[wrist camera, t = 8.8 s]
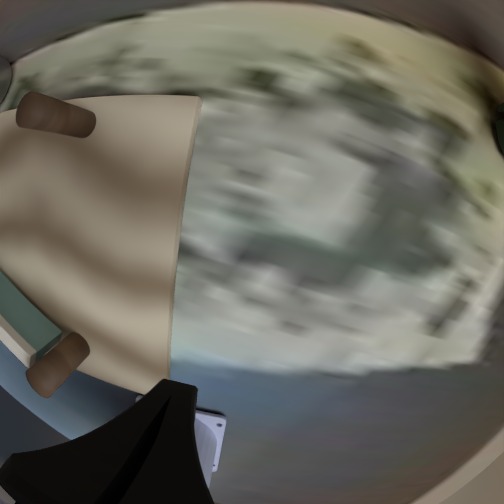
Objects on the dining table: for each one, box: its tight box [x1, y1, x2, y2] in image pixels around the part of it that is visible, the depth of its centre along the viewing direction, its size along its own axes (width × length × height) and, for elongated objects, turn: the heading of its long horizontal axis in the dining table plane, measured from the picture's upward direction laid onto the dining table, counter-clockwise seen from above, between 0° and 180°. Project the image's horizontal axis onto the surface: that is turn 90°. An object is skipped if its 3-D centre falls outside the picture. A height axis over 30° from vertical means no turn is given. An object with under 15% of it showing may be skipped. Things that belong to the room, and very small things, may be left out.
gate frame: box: [0, 92, 202, 398], centre depth 15 cm, size 22×20×7 cm
